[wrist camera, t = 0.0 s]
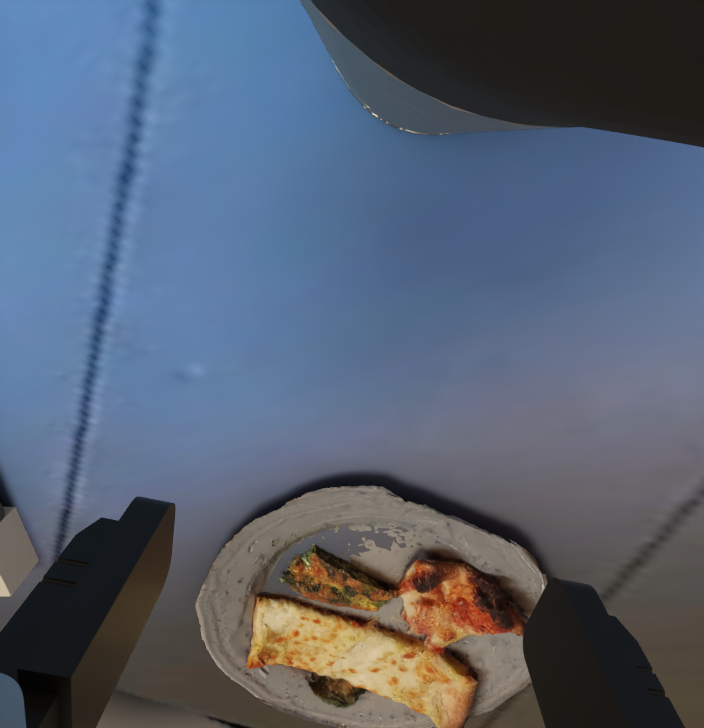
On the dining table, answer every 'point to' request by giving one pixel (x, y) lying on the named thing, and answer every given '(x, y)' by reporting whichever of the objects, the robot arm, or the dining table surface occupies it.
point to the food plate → (372, 614)
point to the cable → (14, 551)
